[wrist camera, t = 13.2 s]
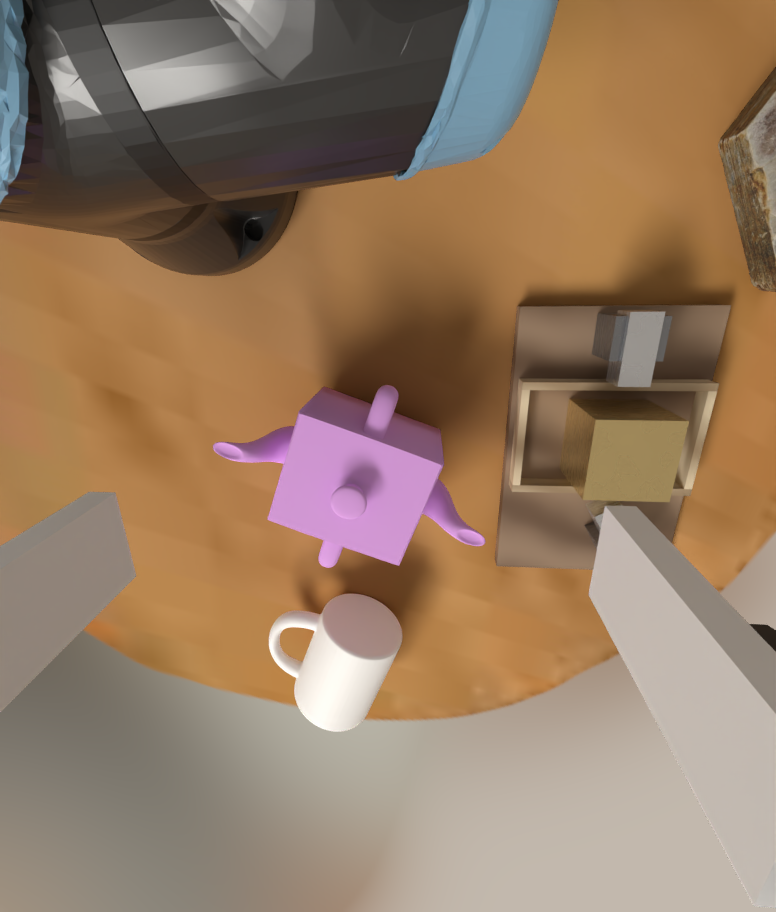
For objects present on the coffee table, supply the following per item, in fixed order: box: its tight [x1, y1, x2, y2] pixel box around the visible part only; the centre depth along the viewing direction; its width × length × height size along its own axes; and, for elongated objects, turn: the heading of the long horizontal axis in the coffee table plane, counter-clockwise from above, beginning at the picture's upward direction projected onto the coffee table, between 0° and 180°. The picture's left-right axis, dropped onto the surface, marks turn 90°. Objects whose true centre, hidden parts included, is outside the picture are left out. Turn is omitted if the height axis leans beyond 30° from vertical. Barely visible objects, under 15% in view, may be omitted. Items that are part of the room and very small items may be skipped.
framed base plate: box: [495, 305, 731, 570], centre depth 37 cm, size 23×15×3 cm, turn 1°
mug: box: [269, 594, 402, 732], centre depth 44 cm, size 12×10×8 cm
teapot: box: [213, 385, 485, 568], centre depth 35 cm, size 15×13×11 cm
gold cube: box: [559, 399, 689, 502], centre depth 34 cm, size 6×6×6 cm
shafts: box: [584, 310, 672, 550], centre depth 35 cm, size 22×6×4 cm, turn 1°
